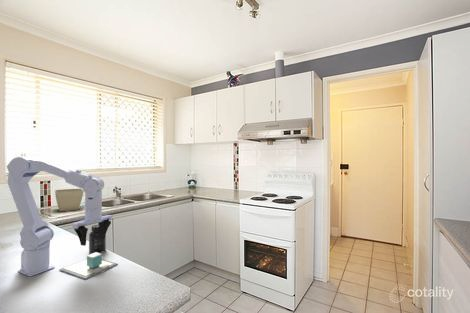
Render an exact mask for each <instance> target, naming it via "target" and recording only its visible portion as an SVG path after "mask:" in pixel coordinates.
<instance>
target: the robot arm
mask: <svg viewBox="0 0 470 313" xmlns="http://www.w3.org/2000/svg"><path fill="white" fill-rule="evenodd" d="M6 168H7V171H8V175H7V186H8V188H9V191H10V193H11V195H12V199H13V201H14V204H15V207H16V209H17V213H18V215H19V217H20V220H21V222H22V225H23V226H22V228H21V230H20V232H19V235H20V241H19V244H20V246H21V248H22V249H23V250H22V251H21V254H20V269H17V272H19V273H20V274H23V275H26V276H28V277H33V276H36V275H39V274H41V273H44V272H46V271H49V270H51V269H52V270H53V269H54V268H55V266H54V265H52V264H50V259H51V258H50V256H51V254H50V248H51V247H50V245H51V244H50V243H51V240H52V239H53V238H54V234H55V232H54V230H53V229H52V228H51V227H50V226H49V223H48V222H46V221H45V220H43V219H42V217H41V214H40V211H39V209H38V205H37V204H36V203H37V202H36V201H35V198H34V195H33V193H32V189H31V187H30V184H29V183H30V181H31V180H32V179H33V178H34V177H35V176H36V175H37V174H39V173H40V172H45V173H48V174H51V175H53V176H56V177H59V178H62V179H64V181H65V183H66V184H69V185H71V186H73V187H77V188H78V189H82V190H83V193H85V194H84V196H85V197H84V200H85V201H84V219H81V220H79V221H76V222H72V229H73V230H74V232H75V233H76V235H77V237H78V240H79V242H80V246H86V245H87V236H88V230H89V228H88V227H86V226H91V225H96V224H97V225H98V224H99V230H100V239H105V235H106V236H107V231H108V230H109V227H110V225H111V224H112V222H111V221H112V219H113V218H112V214H105V215H103V213H102V211H103V209H102V208H103V207H102V205H103V204H102V202H103V200H102V199H103V195H102V194H103V189H104V187H105V182H104V180H103V179H102V178H100V177H93V175H91V174H86V173H84V172H82V170H81V169H71V170H68V169H65V168H64V167H62V166H59V165H57V164H55V163H52V162H50V161H48V160H46V159H43V158H40V157H36V156H35V157H25V156H24V157H22V156H16V157H13V158H12V159H11V161H9V163H8V164H7V165H6Z"/></svg>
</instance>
